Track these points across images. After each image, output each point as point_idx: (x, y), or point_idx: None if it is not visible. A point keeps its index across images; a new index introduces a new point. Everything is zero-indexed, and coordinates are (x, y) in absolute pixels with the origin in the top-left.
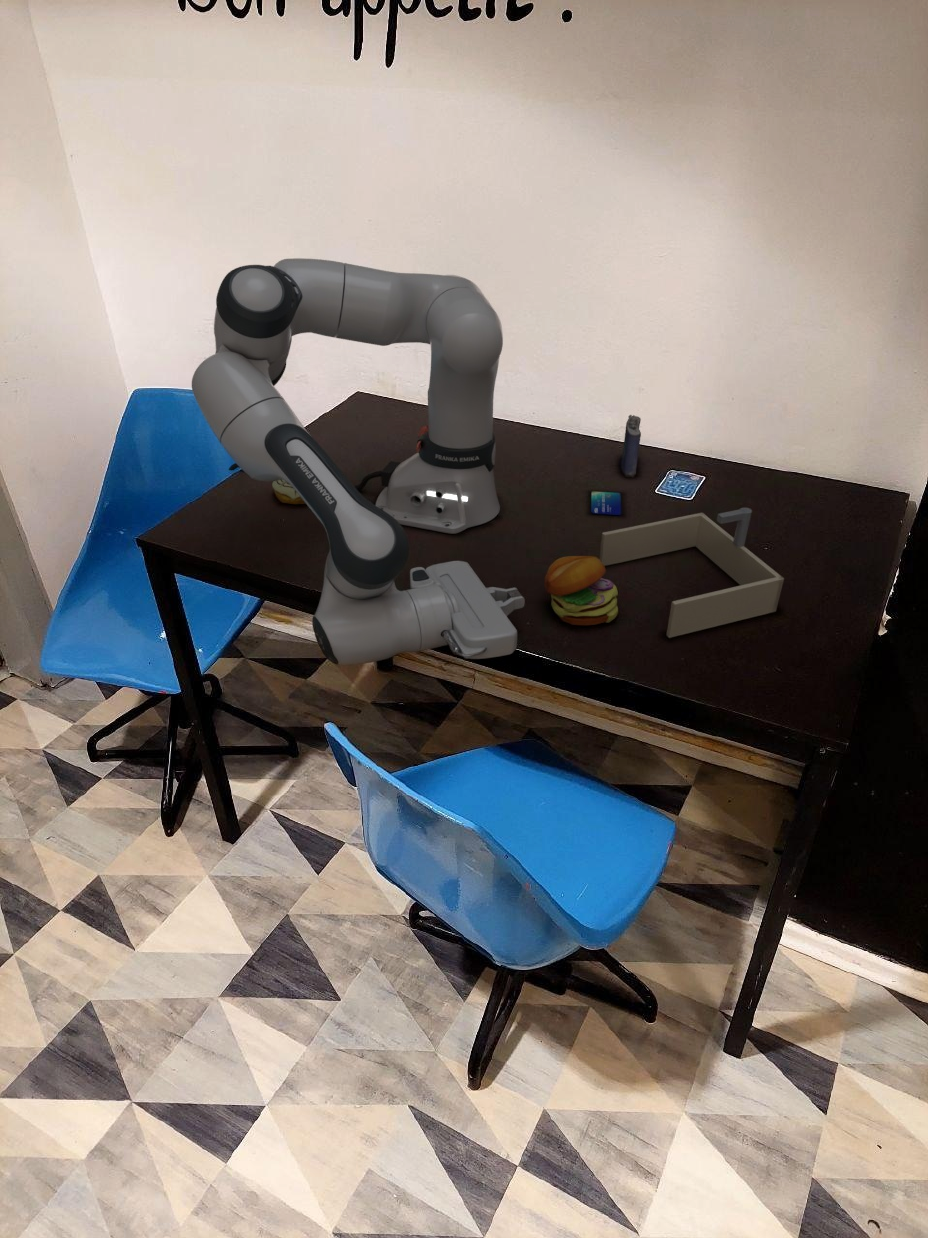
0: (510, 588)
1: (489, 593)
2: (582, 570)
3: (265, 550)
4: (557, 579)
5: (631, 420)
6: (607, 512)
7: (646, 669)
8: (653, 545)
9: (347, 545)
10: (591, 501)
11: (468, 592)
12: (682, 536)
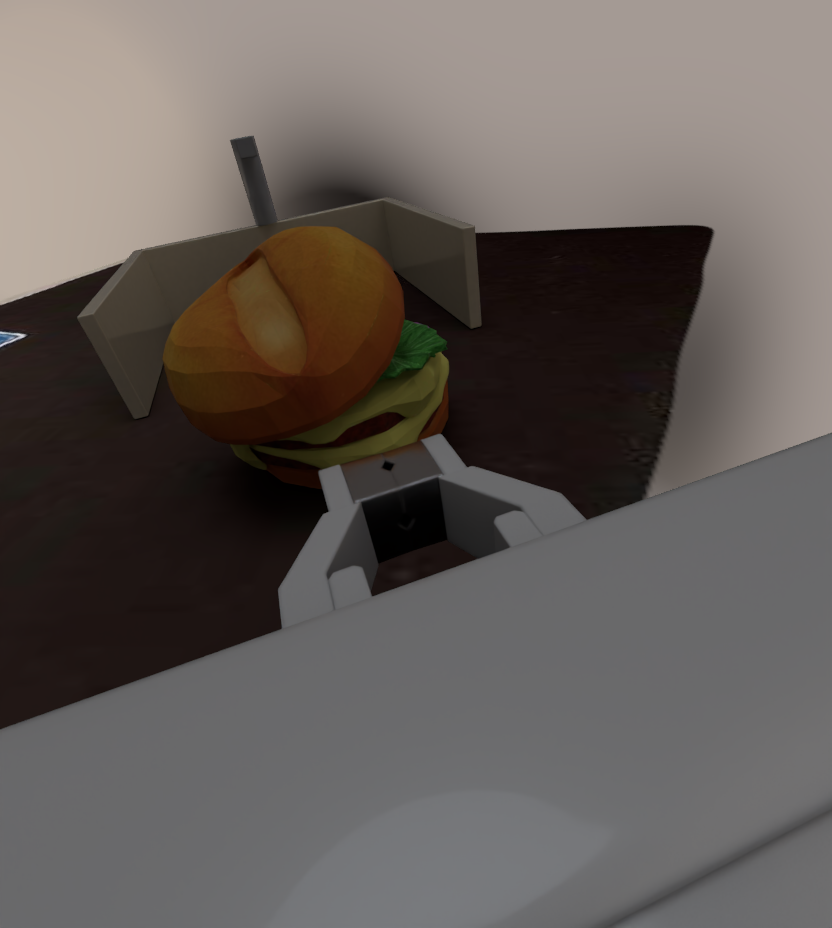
0: (325, 488)
1: (441, 574)
2: (350, 235)
3: None
4: (324, 333)
5: None
6: None
7: (617, 340)
8: (153, 330)
9: None
10: None
11: (427, 837)
12: (158, 302)
